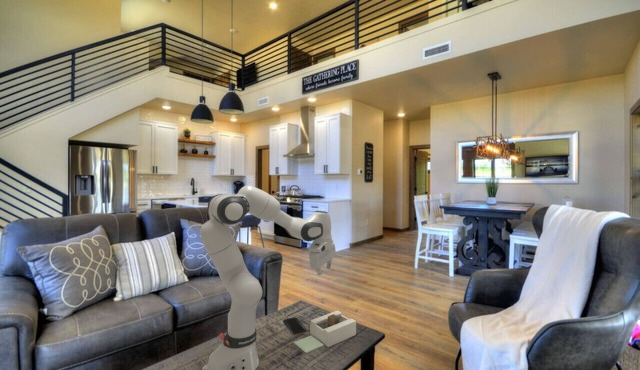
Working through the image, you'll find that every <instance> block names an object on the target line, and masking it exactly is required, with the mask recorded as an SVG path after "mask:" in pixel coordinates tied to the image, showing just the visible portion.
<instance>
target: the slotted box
mask: <svg viewBox="0 0 640 370" xmlns="http://www.w3.org/2000/svg"><path fill="white" fill-rule="evenodd" d="M333 314H335V315H336V316H338V317H339V323H338V324H336V325H333V326H331V327H328V316H330V315H333ZM309 323H310V324H309V325H310V328H309V330H310V331H309V334H310V335H311V336H313V337H314V338H315V339H317V340H318V341H319V342H321V343H322V344H324V346H326V347H327V348H329V347H332V346H334V345H336V344H339V343H341V342H344V341H346V340H348V339H349V338H352V337H353V336H356V335H357V320H355V319H353V318H348V317H346V316H345V315H343V313H342V312H341V311H339V310H335V311H333V312H329V313H327V314H325V315H322V316H318V317H316V318H313V319H311V320H310V321H309Z"/></svg>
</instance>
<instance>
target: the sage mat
mask: <svg viewBox="0 0 640 370" xmlns="http://www.w3.org/2000/svg"><path fill="white" fill-rule="evenodd" d="M293 344H294V345H295V346H296V347H297V348H299V349H300V350H301V351H302V352H304V353H305V354H309V353H311V352H314V351H317V350H318V349H320V348H323V347H324V346H325V345H324V344H323V343H322V342H320V341H319V340H318V339H316V338H315V337H314V336H312V335H311V334H310V335H308V336H306V337H304V338H301V339H300V338H299V339H297V340H296V341H294V342H293Z"/></svg>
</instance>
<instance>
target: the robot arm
mask: <svg viewBox="0 0 640 370" xmlns="http://www.w3.org/2000/svg"><path fill="white" fill-rule="evenodd" d="M206 214H207V216H206V217H207V221H205V222H204V223H203V224H202V225H201V227H200V229H199V236H200V240H201V242H202V244H203V245H202V246H203V247H204V249H205V251H206V253H207V255H208V257H209V259H210V260H211V262H212V264H213V266H214V267H215V269H216V271H217V273H218V275H219V277H220V279H221V282H222V283H223V285H224V287H225V289H226V290H227V292H228V293H229V294H230V297H231V305H230V310H229V312H228V313H227V332H226V334H225V333H223V332H220V334H219V335H218V338H220V340H221V341H222V340H223V341H222V342H221V344H219V346H218V347H217V348H215V350H213V351H212V352H211V353H210V355H209V358H208V360H207V361H208V362H207V364H205V365H203V366H202V369H201V370H256V369H257V368H258V367H259V365H260V359H259V357H258V351H257V344H256V343H257V327H256V313H257V307H258V303H259V302H260V301H261V299H262V297H263V288H262V285H261V283H260V281H259V280H258V279H257V278H256V276H253V274H251V272H250V271H249V270H248V267H247V265H246V264H245V261H244V257H243V253H242V252H241V250H240V248H239V246H238V244H237V242H236V240H235V238H234V236H233V235H232V233H231V230H230V229H231V228H230V225H236V224H238V223H239V222H241V221H242V220H243V219H244V218H245V216H246V215H247V214H250V215H252V216H253V217H256V218H258V219H260V220H262V221H265V222H273V223H274V224H277V226H278V225H279V226H280V227H282V228H283V229H284V230H285V231H286V232H287V234H288V235H289V236H290V237H291V238H296V239H298V240H302V241H304V242H312V243H311V244H310V245H309V246H308V252H309V256H308V257H309V266H310V268H311V269H315V270H316V272H317V276H322V275H323V271H322V270H321V269H322V268H321V267H322V266H324V265H326V269H328V270H329V269H331V268H332V262H333V259H334V258H335V257H336V255H337V252H336V246H335V245H336V244H335V243H334V241H333V237H332V233H331V232H332V221H331V215H330V213H329V212H328V211H324V210H315V211H313V213H312V214H311V215H310V216H308V217H307V218H303V217H302V218H301V217H300V216H299V217H298V216H291V215H290V214H288V213H286V212H284V211H283V210H282V209H281V203H280V201H279V200H278V199H277V198H275V197H274V196H273V195H271V194H270V193H268V192H266V191H264V190H263V189H260V188H258V187H255V186H253V185H248V184H247V185H244V186H242V187H241V188H240V189H239V190H238V192H237V194H235V195H231V194H227V193H219V194H215V195H213V196H212V197H211V198H210V199H209V200H208V204H207V213H206Z"/></svg>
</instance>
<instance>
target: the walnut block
mask: <svg viewBox="0 0 640 370" xmlns="http://www.w3.org/2000/svg"><path fill="white" fill-rule="evenodd" d="M338 323H339V317H338V316H336V315H335V314H333V315H330V316H328V327H331V326H333V325H336V324H338Z"/></svg>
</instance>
